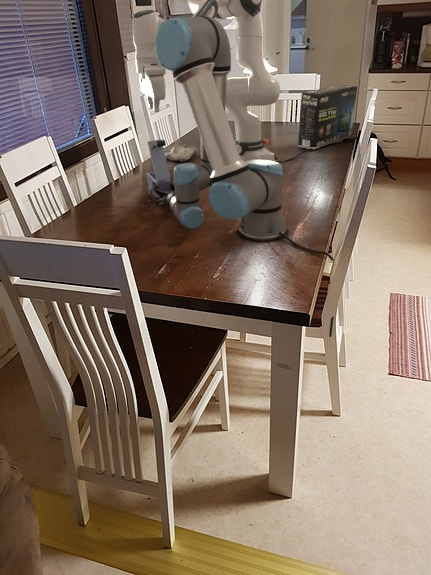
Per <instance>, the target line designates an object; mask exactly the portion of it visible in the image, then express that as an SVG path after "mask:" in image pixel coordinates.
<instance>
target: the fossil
mask: <svg viewBox="0 0 431 575" xmlns="http://www.w3.org/2000/svg"><path fill="white" fill-rule="evenodd" d="M164 152H165V157H166V160H169V161H174V162H177V161H179V162H180V163H186V162H187V161H188V160H190V159H191V158H192V157H193V156H194V155H197V154H198V153H199V150H198V148H197V146H195V145H188V146H187V145H186V143H184V142H183V143H181V142H176V143H175V145H174V146H173V147H172V148H171V149H170V150H168V149H164Z"/></svg>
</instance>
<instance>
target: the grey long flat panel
mask: <svg viewBox="0 0 431 575" xmlns="http://www.w3.org/2000/svg"><path fill="white" fill-rule="evenodd" d="M166 145H167V144H166V140H165V139H162V138H161V139H154V140H149V141H147V146H148V150H149V155H150V159H151V164H152V169H153V172H154V173H155V177H156V181H162V180H167V179H169V180H171V174H170V171H169V166H168V161H167V159H166V157H165V152H164V150H165V149H164V146H166Z"/></svg>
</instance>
